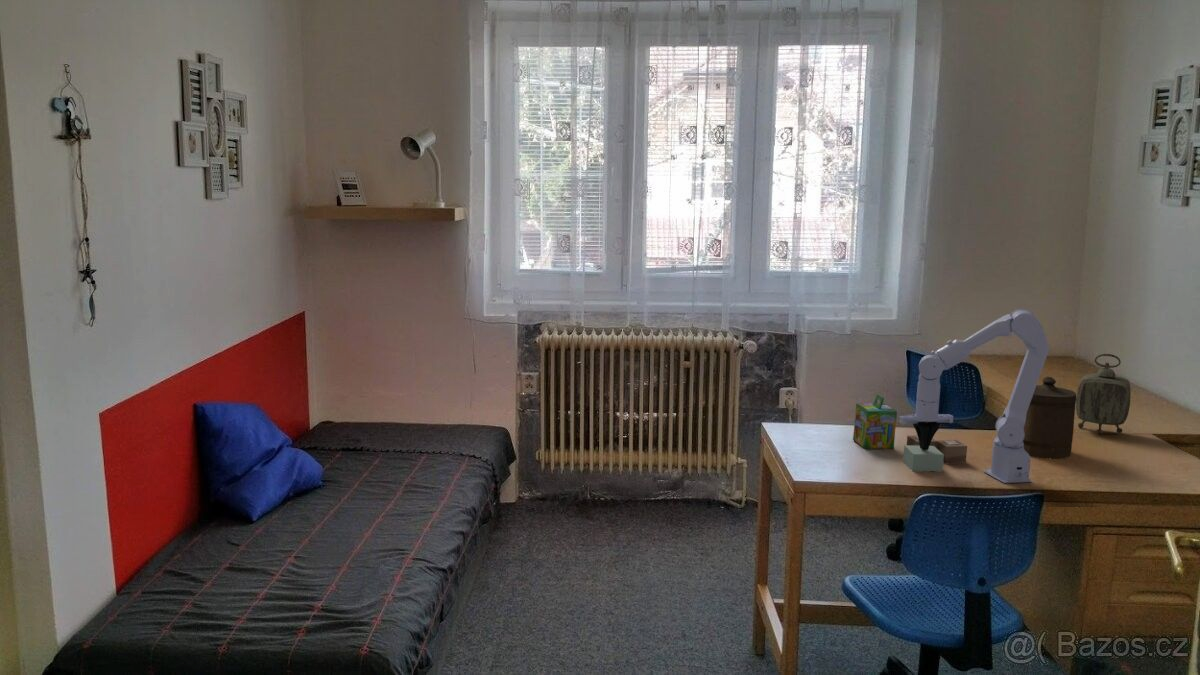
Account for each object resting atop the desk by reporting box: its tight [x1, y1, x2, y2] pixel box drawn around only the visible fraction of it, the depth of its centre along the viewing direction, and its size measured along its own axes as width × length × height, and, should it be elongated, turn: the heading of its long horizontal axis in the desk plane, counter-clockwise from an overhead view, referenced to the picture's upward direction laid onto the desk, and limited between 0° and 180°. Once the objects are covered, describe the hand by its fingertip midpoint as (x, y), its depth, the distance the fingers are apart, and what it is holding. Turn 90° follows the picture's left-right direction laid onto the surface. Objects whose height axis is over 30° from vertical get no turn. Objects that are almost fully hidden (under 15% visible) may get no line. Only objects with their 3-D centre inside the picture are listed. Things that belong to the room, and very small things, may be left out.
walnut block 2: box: [935, 439, 968, 464], centre depth 247 cm, size 6×6×5 cm
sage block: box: [902, 444, 944, 473], centre depth 240 cm, size 8×8×5 cm
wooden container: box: [1023, 376, 1077, 460], centre depth 254 cm, size 15×15×22 cm
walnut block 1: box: [906, 434, 938, 448], centre depth 251 cm, size 6×6×5 cm
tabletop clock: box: [1075, 353, 1132, 435], centre depth 274 cm, size 14×9×25 cm, turn 59°
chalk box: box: [852, 394, 898, 450], centre depth 259 cm, size 9×9×15 cm
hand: (924, 448), depth 240 cm, fingers closed
